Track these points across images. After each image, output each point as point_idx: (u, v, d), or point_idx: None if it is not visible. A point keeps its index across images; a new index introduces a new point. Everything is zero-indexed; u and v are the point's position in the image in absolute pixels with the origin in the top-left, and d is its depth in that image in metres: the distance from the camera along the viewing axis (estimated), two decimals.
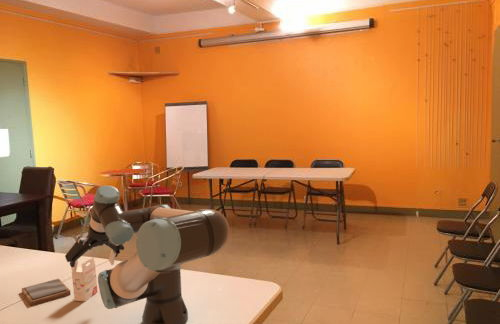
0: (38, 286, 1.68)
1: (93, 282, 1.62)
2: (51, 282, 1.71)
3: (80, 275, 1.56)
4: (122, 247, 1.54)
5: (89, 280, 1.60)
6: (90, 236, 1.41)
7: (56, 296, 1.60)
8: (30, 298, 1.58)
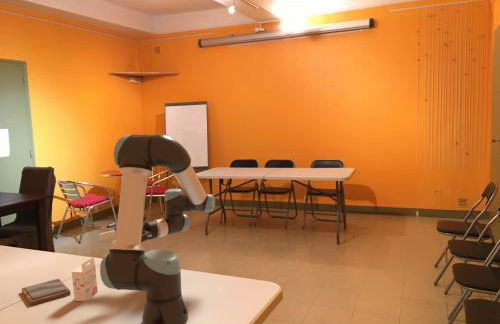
0: (38, 286, 1.68)
1: (93, 282, 1.62)
2: (51, 282, 1.71)
3: (80, 275, 1.56)
4: None
5: (89, 280, 1.60)
6: None
7: (56, 296, 1.60)
8: (30, 298, 1.58)
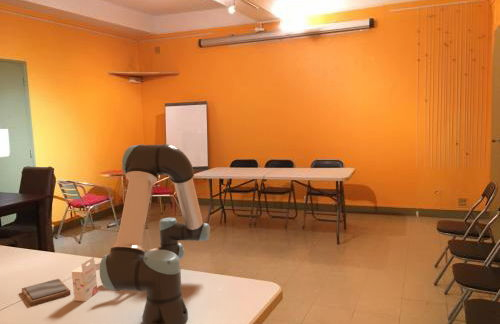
0: (38, 286, 1.68)
1: (93, 282, 1.62)
2: (51, 282, 1.71)
3: (80, 275, 1.56)
4: None
5: (89, 280, 1.60)
6: None
7: (56, 296, 1.60)
8: (30, 298, 1.58)
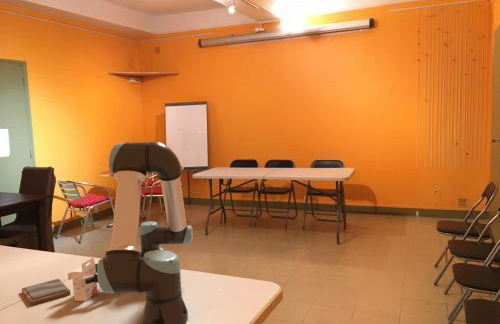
0: (38, 286, 1.68)
1: None
2: (51, 282, 1.71)
3: (80, 275, 1.56)
4: None
5: None
6: None
7: (56, 296, 1.60)
8: (30, 298, 1.58)
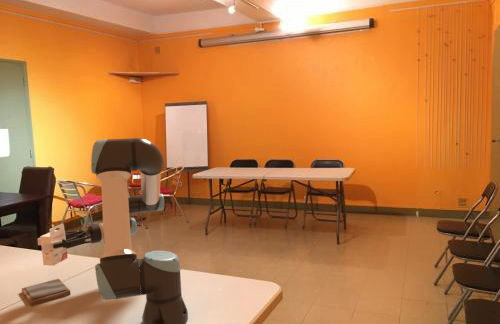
0: (38, 286, 1.68)
1: (62, 248, 1.66)
2: (51, 282, 1.71)
3: (48, 239, 1.59)
4: (69, 241, 1.60)
5: None
6: None
7: (56, 296, 1.60)
8: (30, 298, 1.58)
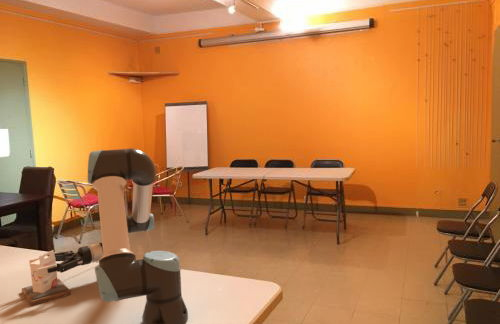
0: None
1: (52, 275, 1.66)
2: None
3: (37, 267, 1.60)
4: (63, 265, 1.60)
5: None
6: None
7: (56, 296, 1.60)
8: (30, 298, 1.58)
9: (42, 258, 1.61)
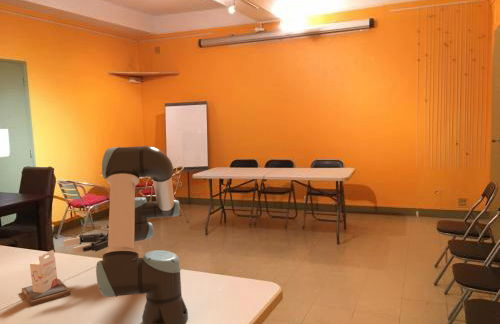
0: None
1: (52, 275, 1.66)
2: None
3: (37, 267, 1.60)
4: (97, 244, 1.68)
5: (47, 272, 1.63)
6: None
7: (56, 296, 1.60)
8: (30, 298, 1.58)
9: (42, 258, 1.61)
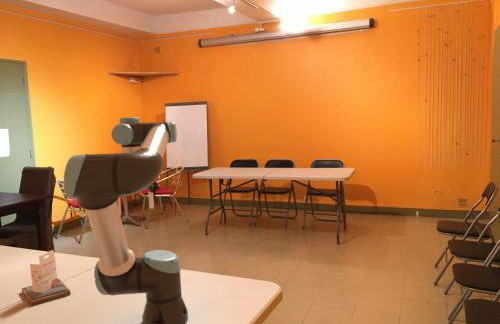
0: None
1: (52, 275, 1.66)
2: None
3: (37, 267, 1.60)
4: (157, 186, 1.67)
5: (47, 272, 1.63)
6: None
7: (56, 296, 1.60)
8: (30, 298, 1.58)
9: (42, 258, 1.61)
